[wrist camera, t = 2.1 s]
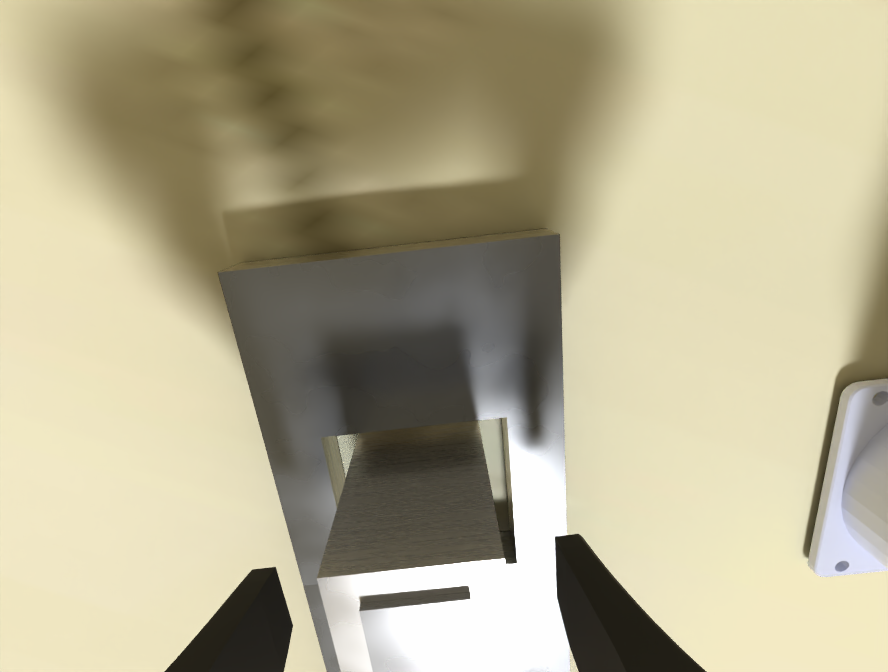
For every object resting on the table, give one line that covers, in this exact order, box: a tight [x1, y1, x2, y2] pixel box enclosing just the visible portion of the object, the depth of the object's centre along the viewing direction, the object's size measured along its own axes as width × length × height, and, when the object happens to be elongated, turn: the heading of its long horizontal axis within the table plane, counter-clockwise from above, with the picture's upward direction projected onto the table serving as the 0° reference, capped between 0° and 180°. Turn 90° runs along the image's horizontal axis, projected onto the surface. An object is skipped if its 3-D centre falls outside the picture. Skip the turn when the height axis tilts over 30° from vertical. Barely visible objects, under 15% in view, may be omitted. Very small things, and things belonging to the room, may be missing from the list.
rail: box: [218, 229, 570, 672], centre depth 17 cm, size 9×30×2 cm, turn 6°
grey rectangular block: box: [317, 420, 514, 672], centre depth 13 cm, size 4×4×6 cm
